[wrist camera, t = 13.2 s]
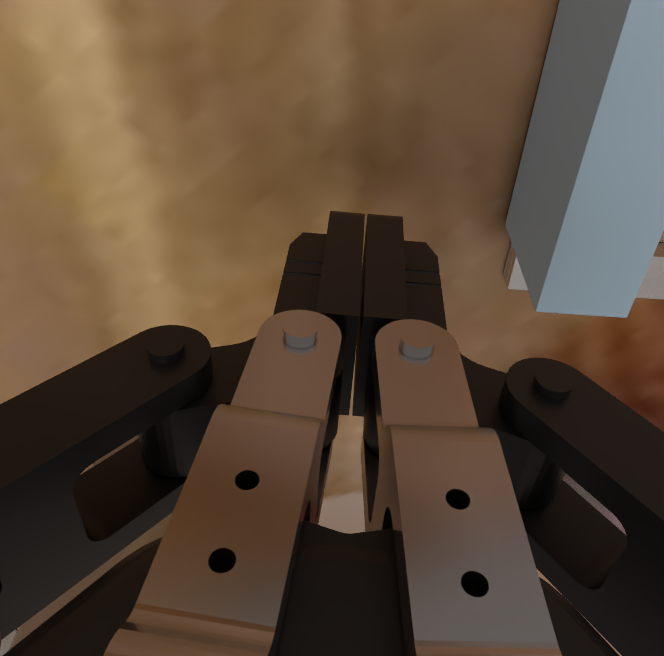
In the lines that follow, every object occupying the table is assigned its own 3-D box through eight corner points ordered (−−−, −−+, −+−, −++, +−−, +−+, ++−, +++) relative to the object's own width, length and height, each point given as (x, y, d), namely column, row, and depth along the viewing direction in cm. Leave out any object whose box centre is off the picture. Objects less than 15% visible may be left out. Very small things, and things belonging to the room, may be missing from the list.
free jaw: (581, 229, 25) (629, 317, 20) (504, 224, 25) (535, 311, 20) (676, -59, 19) (777, -29, 14) (575, -65, 19) (642, -37, 14)
